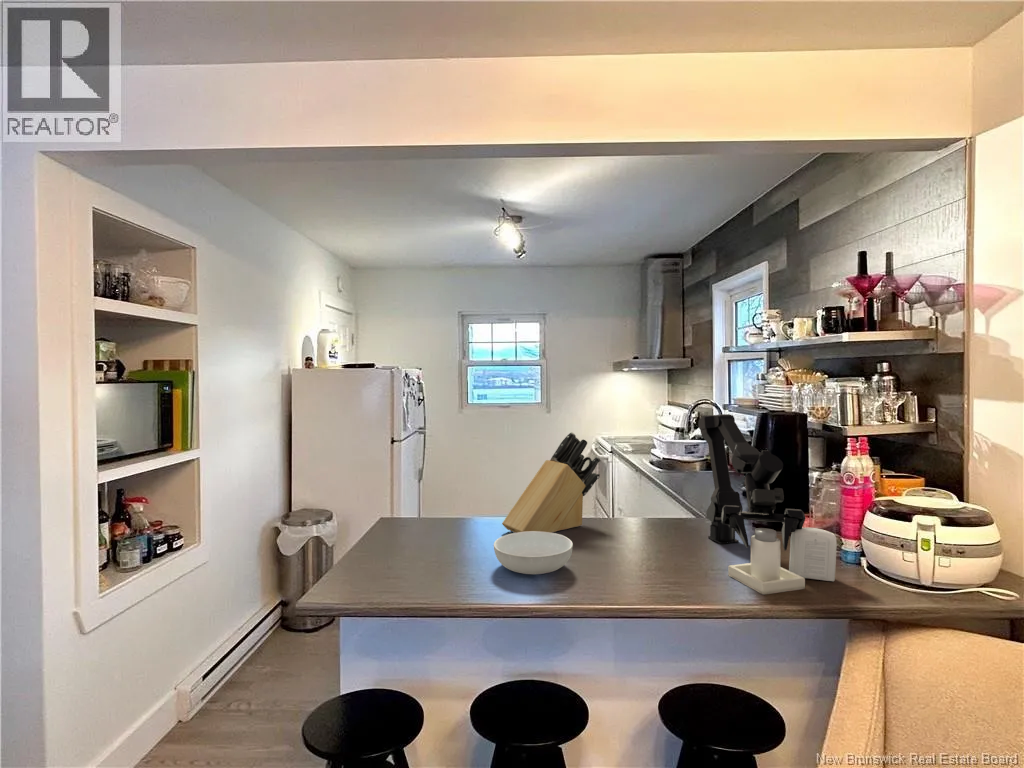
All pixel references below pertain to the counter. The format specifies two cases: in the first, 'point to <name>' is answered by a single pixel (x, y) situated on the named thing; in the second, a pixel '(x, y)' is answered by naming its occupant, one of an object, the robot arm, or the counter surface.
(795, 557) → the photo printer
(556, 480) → the knife block
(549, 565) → the serving bowl
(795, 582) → the cream tray
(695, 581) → the counter surface
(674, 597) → the counter surface
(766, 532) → the white bottle
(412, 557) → the counter surface
